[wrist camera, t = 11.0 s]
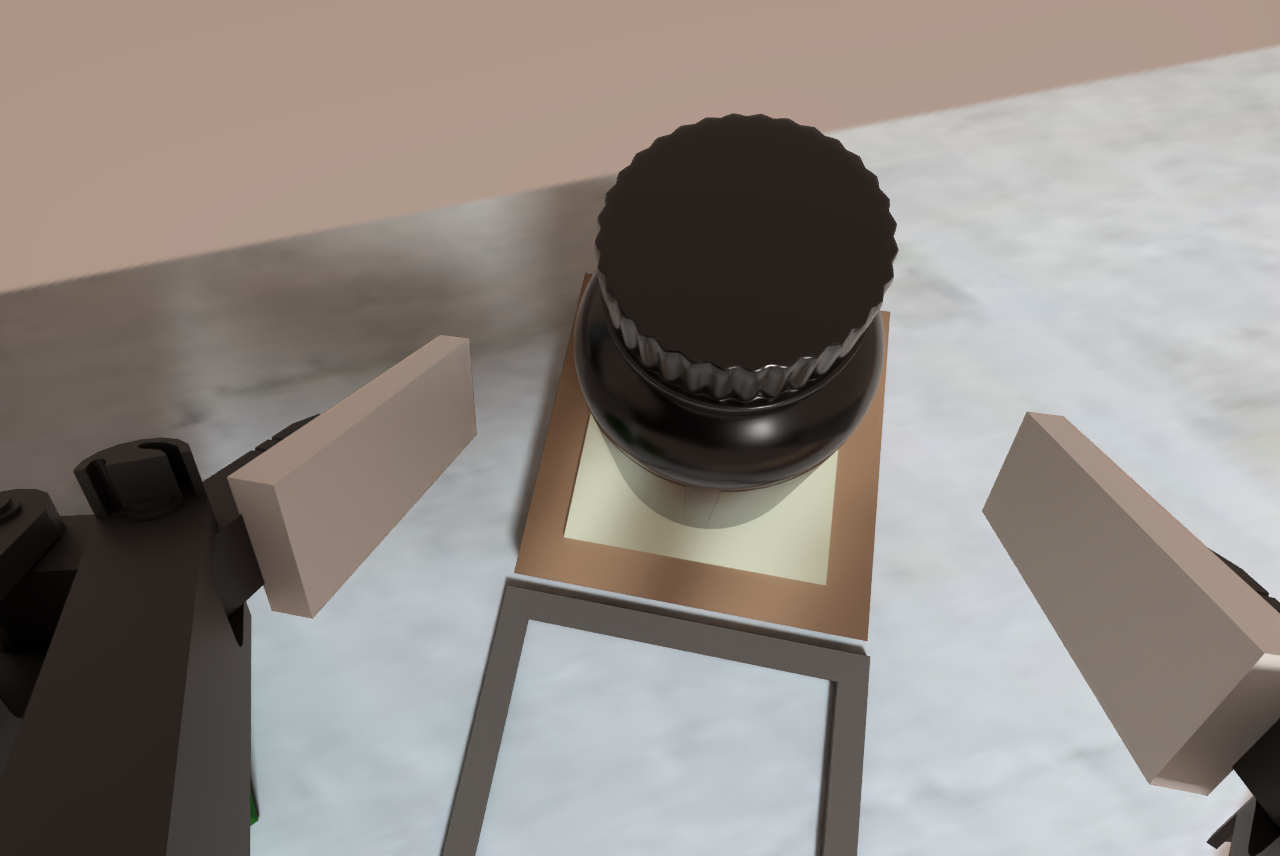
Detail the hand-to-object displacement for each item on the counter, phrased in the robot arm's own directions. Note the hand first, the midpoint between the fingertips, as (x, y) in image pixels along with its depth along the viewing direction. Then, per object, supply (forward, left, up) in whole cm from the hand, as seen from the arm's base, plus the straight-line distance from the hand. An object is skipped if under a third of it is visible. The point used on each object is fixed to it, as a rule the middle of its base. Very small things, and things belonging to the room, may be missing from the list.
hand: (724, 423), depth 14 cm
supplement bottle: (0, +1, -7) cm, 7 cm away
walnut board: (0, +2, -8) cm, 8 cm away
